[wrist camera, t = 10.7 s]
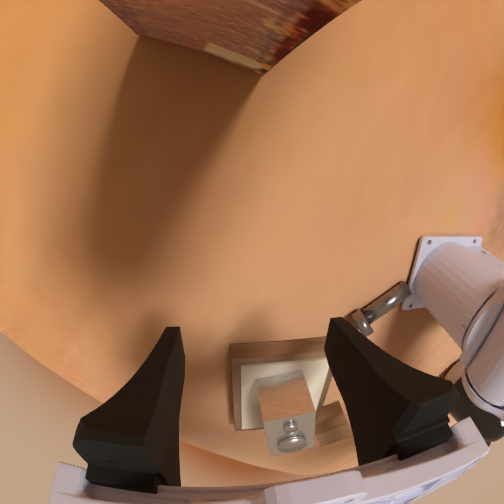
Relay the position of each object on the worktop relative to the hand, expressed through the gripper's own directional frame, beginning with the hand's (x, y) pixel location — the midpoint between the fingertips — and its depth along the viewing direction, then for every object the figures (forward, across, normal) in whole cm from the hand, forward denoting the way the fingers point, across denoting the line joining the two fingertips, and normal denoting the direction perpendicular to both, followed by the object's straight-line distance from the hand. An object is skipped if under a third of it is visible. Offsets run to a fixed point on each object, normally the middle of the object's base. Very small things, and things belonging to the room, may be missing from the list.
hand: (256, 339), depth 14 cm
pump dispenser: (+10, -34, +22) cm, 42 cm away
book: (+10, -2, -26) cm, 28 cm away
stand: (+10, -4, +16) cm, 19 cm away
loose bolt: (+10, -14, +6) cm, 18 cm away
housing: (+8, -4, +15) cm, 18 cm away
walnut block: (+10, -11, +24) cm, 28 cm away
